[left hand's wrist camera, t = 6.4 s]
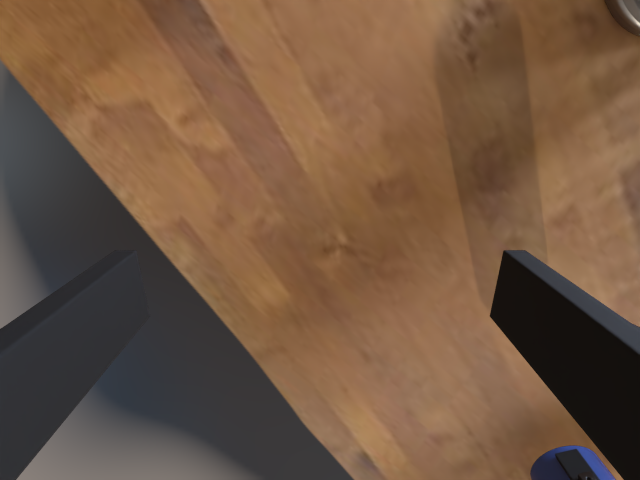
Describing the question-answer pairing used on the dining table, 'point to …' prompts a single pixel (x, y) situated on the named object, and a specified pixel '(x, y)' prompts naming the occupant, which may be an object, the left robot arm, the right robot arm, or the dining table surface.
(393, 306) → the dining table surface
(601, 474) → the cylinder
